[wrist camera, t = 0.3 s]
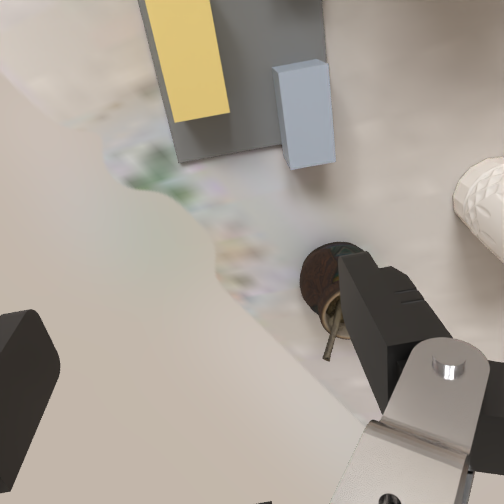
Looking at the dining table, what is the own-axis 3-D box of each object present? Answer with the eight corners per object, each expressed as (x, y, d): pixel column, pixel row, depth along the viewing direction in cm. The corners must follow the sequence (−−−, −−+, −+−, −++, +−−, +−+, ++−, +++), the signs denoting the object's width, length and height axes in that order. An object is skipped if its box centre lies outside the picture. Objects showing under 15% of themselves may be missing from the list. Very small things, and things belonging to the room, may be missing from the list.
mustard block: (151, -3, 31) (143, -6, 28) (207, -14, 31) (206, -18, 28) (178, 112, 35) (174, 122, 32) (228, 103, 35) (230, 112, 31)
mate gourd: (384, 251, 43) (427, 314, 34) (339, 308, 46) (367, 379, 37) (324, 219, 41) (353, 276, 32) (280, 280, 44) (296, 348, 35)
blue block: (271, 67, 34) (278, 72, 30) (316, 58, 34) (328, 63, 30) (283, 155, 37) (290, 170, 34) (324, 148, 37) (335, 161, 34)
